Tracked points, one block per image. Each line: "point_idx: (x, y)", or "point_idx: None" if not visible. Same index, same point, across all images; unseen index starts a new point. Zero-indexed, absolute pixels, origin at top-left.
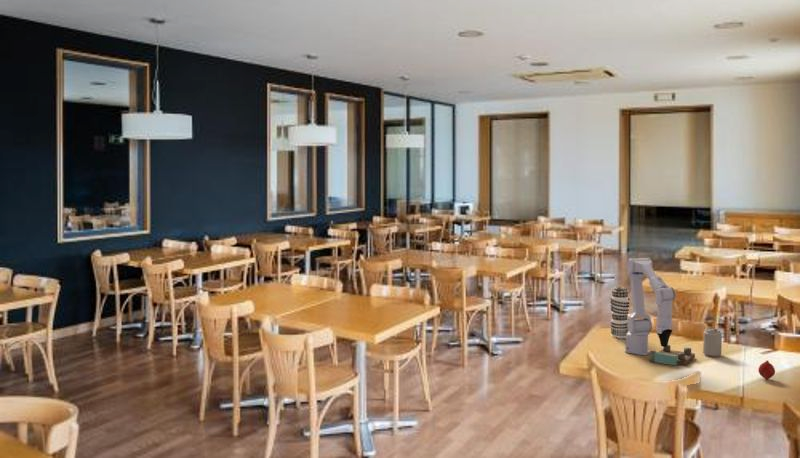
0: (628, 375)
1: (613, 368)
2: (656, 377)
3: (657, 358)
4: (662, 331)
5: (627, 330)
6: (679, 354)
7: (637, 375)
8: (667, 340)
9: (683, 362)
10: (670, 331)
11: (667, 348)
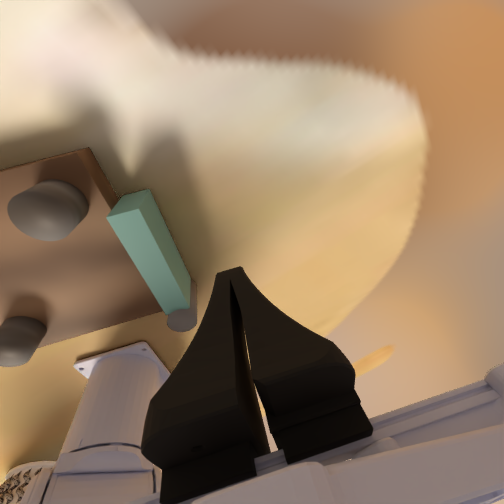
0: (402, 237)
1: (353, 304)
2: (379, 150)
3: (184, 279)
4: (395, 411)
5: (9, 496)
6: (72, 217)
7: (388, 218)
8: (248, 298)
9: (89, 166)
10: (239, 398)
11: (23, 334)
